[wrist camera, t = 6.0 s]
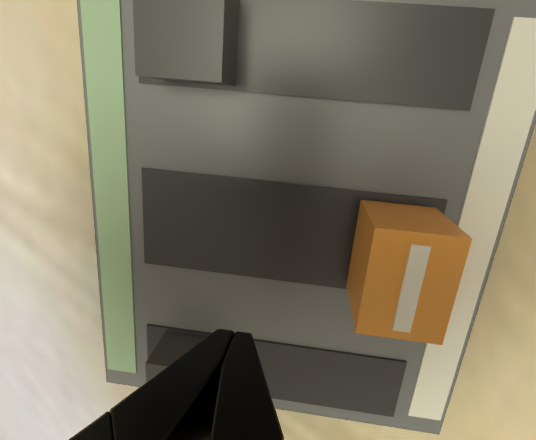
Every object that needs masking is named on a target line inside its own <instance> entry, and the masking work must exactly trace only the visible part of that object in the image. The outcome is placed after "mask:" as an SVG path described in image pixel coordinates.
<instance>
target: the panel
mask: <svg viewBox="0 0 536 440" xmlns="http://www.w3.org/2000/svg"><path fill="white" fill-rule="evenodd" d="M77 10H78V22H79V35H80V48H81V61H82V73H83V86H84V99H85V112H86V125H87V137H88V150H89V163H90V176H91V189H92V201H93V214H94V227H95V240H96V253H97V265H98V278H99V291H100V304H101V316H102V329H103V342H104V355H105V368H106V380H107V382H111V383H117V384H123V385H130V386H136V387H141V386H142V385H143V384H145V383H146V382H147V381H149V380H150V379H151V378H153V377H154V376H155V375H157V374H158V373H159V372H161V371H162V370H163V369H165V368H166V367H167V366H169V365H170V364H171V363H173V362H174V361H175V360H177V359H178V358H179V357H181V356H182V355H183V354H185V353H186V352H187V351H189V350H190V349H191V348H193V347H194V346H195V345H197V344H198V343H199V342H201V341H202V340H203V339H205V338H206V337H207V336H209V335H210V334H211V333H213V332H214V331H215V330H217V329H226V330H232V331H234V333H235V332H237V331H240V332H247V333H251V334H252V336H253V339H254V342H255V345H256V349H257V352H258V355H259V358H260V362H261V365H262V368H263V371H264V375H265V378H266V381H267V384H268V388H269V391H270V394H271V397H272V401H273V404H274V407H275V409H281V410H288V411H294V412H300V413H307V414H313V415H319V416H326V417H332V418H338V419H345V420H351V421H357V422H364V423H370V424H376V425H383V426H389V427H395V428H402V429H408V430H414V431H421V432H427V433H433V434H440V431H441V427H442V424H443V421H444V418H445V414H446V411H447V408H448V405H449V401H450V398H451V395H452V392H453V388H454V385H455V382H456V379H457V376H458V372H459V369H460V366H461V363H462V359H463V356H464V353H465V350H466V346H467V343H468V340H469V337H470V333H471V330H472V327H473V324H474V321H475V317H476V314H477V311H478V308H479V304H480V301H481V298H482V295H483V291H484V288H485V285H486V282H487V278H488V275H489V272H490V269H491V266H492V262H493V259H494V256H495V253H496V249H497V246H498V243H499V240H500V236H501V233H502V230H503V227H504V223H505V220H506V217H507V214H508V211H509V207H510V204H511V201H512V198H513V194H514V191H515V188H516V185H517V181H518V178H519V175H520V172H521V168H522V165H523V162H524V159H525V156H526V152H527V149H528V146H529V143H530V139H531V136H532V133H533V130H534V126H535V123H536V0H77ZM361 200H368V201H378V202H387V203H396V204H406V205H415V206H424V207H434V208H437V209H438V210H439V211H440V212H441V213H443V214H444V215H445V216H446V217H447V218H449V219H450V220H451V221H452V222H453V223H454V224H456V225H457V226H458V227H459V228H460V229H462V230H463V231H464V232H465V233H466V234H468V235H469V236H470V237H471V238H472V242H471V245H470V249H469V252H468V256H467V259H466V263H465V267H464V270H463V274H462V277H461V281H460V284H459V288H458V291H457V295H456V298H455V302H454V305H453V309H452V312H451V316H450V320H449V323H448V327H447V330H446V334H445V337H444V341H443V344H442V345H437V344H430V343H423V342H416V341H408V340H401V339H394V338H387V337H379V336H372V335H365V334H358V333H355V330H354V324H353V319H352V314H351V308H350V303H349V298H348V293H347V287H346V284H347V278H348V272H349V266H350V260H351V254H352V248H353V243H354V237H355V231H356V225H357V219H358V213H359V207H360V201H361Z"/></svg>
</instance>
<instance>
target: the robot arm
mask: <svg viewBox="0 0 536 440" xmlns="http://www.w3.org/2000/svg"><path fill="white" fill-rule="evenodd" d="M69 440H284V437H283V433H282V430H281V427H280V423H279V420H278V417H277V414H276V410H275V407H274V404H273V401H272V397H271V394H270V391H269V388H268V384H267V381H266V378H265V375H264V371H263V368H262V365H261V362H260V358H259V355H258V352H257V349H256V345H255V342H254V339H253V336H252V334H251V333H247V332H240V331H237V332H235V333H234V331H232V330H226V329H217V330H215V331H214V332H213V333H211V334H210V335H209V336H207V337H206V338H205V339H203V340H202V341H201V342H199V343H198V344H197V345H195V346H194V347H193V348H191V349H190V350H189V351H187V352H186V353H185V354H183V355H182V356H181V357H179V358H178V359H177V360H175V361H174V362H173V363H171V364H170V365H169V366H167V367H166V368H165V369H163V370H162V371H161V372H159V373H158V374H157V375H155V376H154V377H153V378H151V379H150V380H149V381H147V382H146V383H145V384H143V385H142V386H141V387H139V388H138V389H137V390H135V391H134V392H133V393H131V394H130V395H129V396H127V397H126V398H125V399H123V400H122V401H121V402H119V403H118V404H117V405H115V406H114V407H113V408H111V410H110V412H106V413H105V414H103V415H102V416H101V417H99V418H98V419H97V420H95V421H94V422H93V423H91V424H90V425H88V426H87V427H86V428H84V429H83V430H81V431H80V432H79V433H77V434H76V435H74V436H73V437H72V438H70V439H69Z"/></svg>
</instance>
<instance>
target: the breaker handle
mask: <svg viewBox="0 0 536 440" xmlns="http://www.w3.org/2000/svg"><path fill="white" fill-rule="evenodd" d="M471 242H472V238H471V237H470V236H469V235H468V234H466V233H465V232H464V231H463V230H462V229H460V228H459V227H458V226H457V225H456V224H454V223H453V222H452V221H451V220H450V219H449V218H447V217H446V216H445V215H444V214H443V213H441V212H440V211H439V210H438V209H437V208H434V207H424V206H415V205H406V204H396V203H387V202H378V201H368V200H361V201H360V207H359V213H358V219H357V225H356V231H355V237H354V243H353V248H352V254H351V260H350V266H349V272H348V278H347V284H346V287H347V293H348V298H349V303H350V308H351V314H352V319H353V324H354V330H355V333H358V334H365V335H372V336H379V337H387V338H394V339H401V340H408V341H416V342H423V343H430V344H437V345H442V344H443V341H444V337H445V334H446V330H447V327H448V323H449V320H450V316H451V312H452V309H453V305H454V302H455V298H456V295H457V291H458V288H459V284H460V281H461V277H462V274H463V270H464V267H465V263H466V259H467V256H468V252H469V249H470V245H471Z"/></svg>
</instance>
